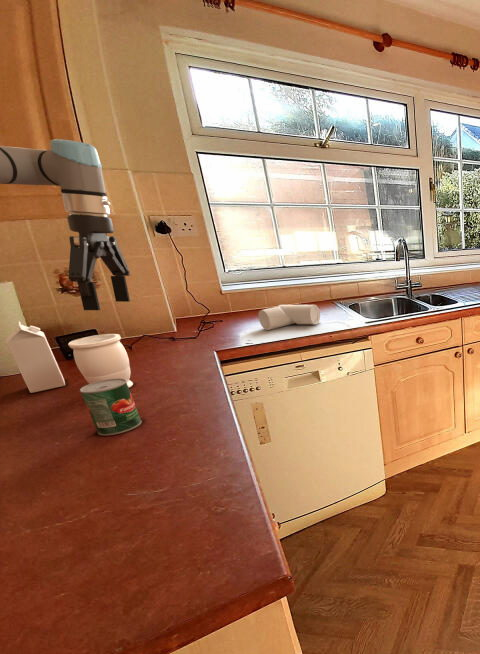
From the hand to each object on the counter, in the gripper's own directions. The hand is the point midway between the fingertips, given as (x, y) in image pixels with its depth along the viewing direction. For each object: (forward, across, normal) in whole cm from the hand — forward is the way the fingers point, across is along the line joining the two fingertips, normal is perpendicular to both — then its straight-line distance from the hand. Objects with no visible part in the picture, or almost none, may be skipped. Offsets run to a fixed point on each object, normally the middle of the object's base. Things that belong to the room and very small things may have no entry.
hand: (108, 305), depth 105 cm
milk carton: (+28, +21, +28) cm, 45 cm away
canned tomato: (+27, -15, -5) cm, 31 cm away
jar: (+26, +12, +9) cm, 30 cm away
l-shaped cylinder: (+19, +68, -30) cm, 77 cm away
